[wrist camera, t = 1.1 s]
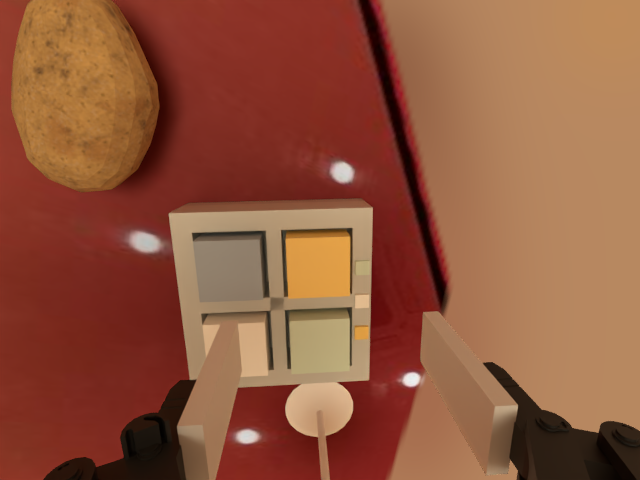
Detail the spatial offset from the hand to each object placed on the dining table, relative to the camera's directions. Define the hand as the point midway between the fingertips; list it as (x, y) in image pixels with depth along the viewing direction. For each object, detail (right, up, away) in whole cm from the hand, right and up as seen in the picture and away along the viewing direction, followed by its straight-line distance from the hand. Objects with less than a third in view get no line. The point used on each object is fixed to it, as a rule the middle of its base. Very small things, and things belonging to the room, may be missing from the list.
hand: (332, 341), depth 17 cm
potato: (-18, +17, +13) cm, 27 cm away
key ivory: (-8, -4, +14) cm, 17 cm away
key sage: (-1, -3, +15) cm, 15 cm away
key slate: (-8, +3, +13) cm, 15 cm away
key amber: (-1, +3, +13) cm, 14 cm away
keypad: (-5, +1, +18) cm, 18 cm away
